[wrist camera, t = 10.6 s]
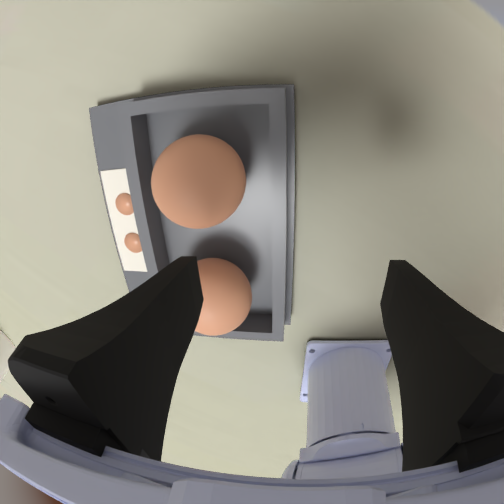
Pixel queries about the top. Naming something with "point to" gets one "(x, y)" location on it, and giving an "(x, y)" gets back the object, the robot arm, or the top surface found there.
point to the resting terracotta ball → (222, 296)
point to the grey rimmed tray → (233, 228)
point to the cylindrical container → (5, 354)
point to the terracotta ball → (198, 181)
